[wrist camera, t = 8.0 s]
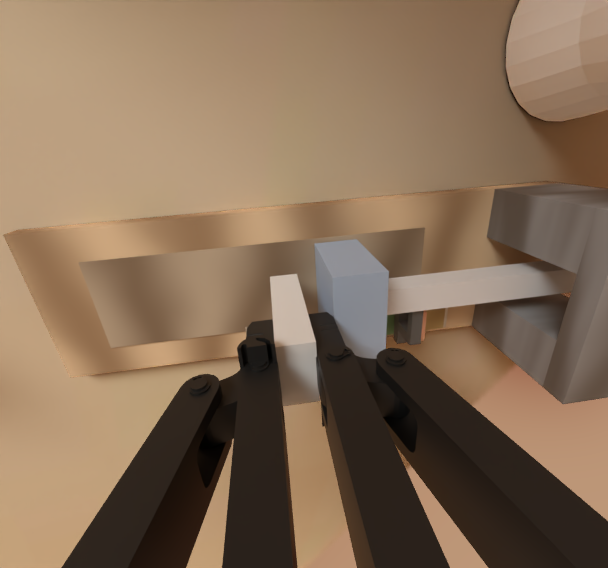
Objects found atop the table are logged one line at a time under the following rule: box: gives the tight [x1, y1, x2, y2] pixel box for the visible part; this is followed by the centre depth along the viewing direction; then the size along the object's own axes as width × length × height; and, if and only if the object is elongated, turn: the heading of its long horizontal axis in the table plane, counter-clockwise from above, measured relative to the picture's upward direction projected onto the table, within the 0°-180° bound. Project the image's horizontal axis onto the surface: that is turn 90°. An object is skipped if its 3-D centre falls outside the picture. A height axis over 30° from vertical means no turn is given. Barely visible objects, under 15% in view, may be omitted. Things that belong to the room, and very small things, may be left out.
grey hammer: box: [314, 239, 577, 359], centre depth 17 cm, size 19×7×5 cm, turn 95°
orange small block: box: [421, 310, 427, 341], centre depth 20 cm, size 1×2×1 cm, turn 5°
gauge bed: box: [4, 181, 608, 404], centre depth 16 cm, size 30×9×8 cm, turn 95°
